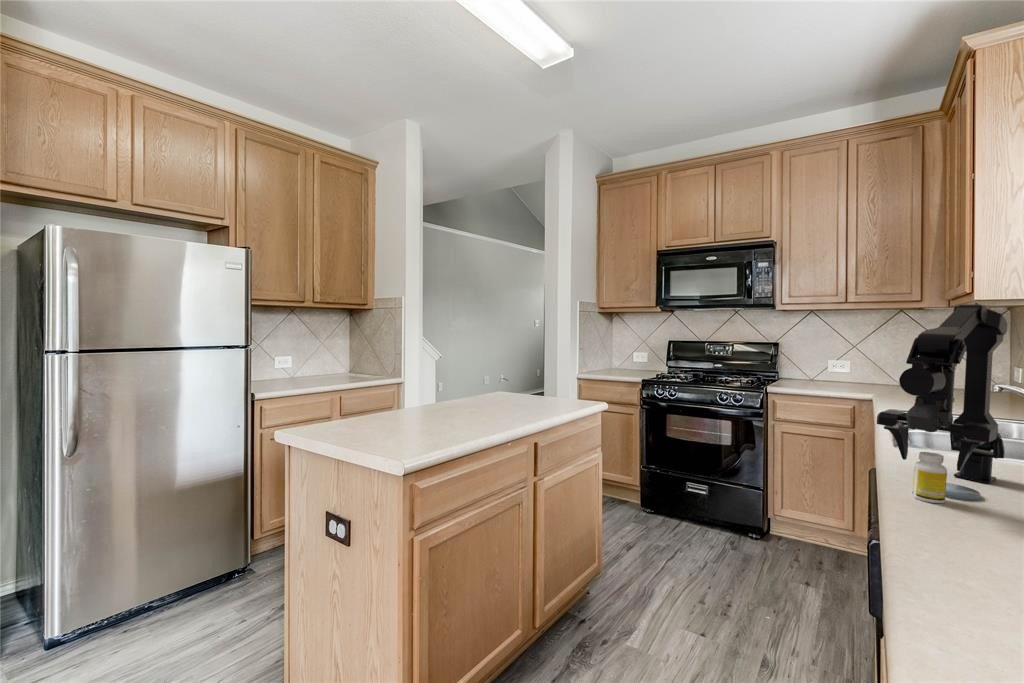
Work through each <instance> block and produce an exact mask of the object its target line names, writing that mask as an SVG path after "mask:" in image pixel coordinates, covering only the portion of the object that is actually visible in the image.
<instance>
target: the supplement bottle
mask: <svg viewBox="0 0 1024 683" xmlns="http://www.w3.org/2000/svg"><path fill="white" fill-rule="evenodd" d="M944 458H945V457H944V455H942V454H940V453H935V452H930V451H920V452H919V454H918V459H919V461H916V462H914V465H913V475H912V476H913V477H912V492H911V495H912V497H913V498H915V499H916V500H919V501H922V502H926V503H931V504H943V503H945V501H946V497H945V493H946V483H947V477H948V469H947V468H946V467H945V465H943V464H944Z"/></svg>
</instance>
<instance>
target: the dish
mask: <svg viewBox="0 0 1024 683" xmlns="http://www.w3.org/2000/svg"><path fill="white" fill-rule="evenodd" d="M945 498H949V499H953V500H958V501H971V502H973V501H974V502H975V501H980V499H981V492H979V491H978V490H975V489H973V488H970V487H969V486H968V487H967V486H964V485H960V484H955V483H950V482H946V493H945Z"/></svg>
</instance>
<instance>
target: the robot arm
mask: <svg viewBox="0 0 1024 683" xmlns="http://www.w3.org/2000/svg"><path fill="white" fill-rule="evenodd" d="M1007 332H1008V322H1007V320H1006V318H1005V317H1004V315H1003V314H1002V313H1001V312H1000V313H999V312H997V311H995V310H992V309H990V308H988V307H987V305H982V304H981V303H980V304H978V303H977V304H971V303H970V304H966V303H965V304H959V305H954V308H953V312H951V314H950V315H949V316H948V317H947V318H945V319H944V321H943V322H942V323H941V324H940V325H939V326H938V327H935V328H931V329H925V330H924V331H922V332H921V333H919V334H918V335H917V337H916V338H915V339H914V340H913V343H912V345H911V348H910V351H909V354H908V355H907V358H906V365H911V367H910V368H907V369H905V370H904V371H903V372H902V373H901V374H900V376H899V380H898V382H899V386H900V388H901V389H902V390H903V391H904V392H905V393H906V394H908V395H911V396H915V401H914V404H913V406H911V407H910V409H909V410H908V411H907V412H904V411H897V410H891V409H888V410H883V411H880V412H879V413H878V414H877V416H876V424H877V425H880V426H883V429H884V430H887V431H889V432H890V434H892V436H893V437H894V440H895V442H896V445H897V447H898V450H899V453H900V456H901V459H902V460H903V461H904V460H907V459H908V454H909V429H910V430H921V431H924V432H926V433H935V432H937V431H943V432H949V433H950V434H949V438H950V450H951V451H953V452H959V453H958V457H957V461H956V471H957V472H955V473H953V476H954V477H955V478H962V479H965V480H970V481H975V482H979V483H984V484H991V483H993V482H994V481H996V480H997V477H996V476H992V473H993V472H992V471H993V461H994V460H993V459H996V460H997V459H1005V445H1004V441H1003V439H1002V435H1001V433H1000V432H999V424H998V423H997V421H996V419H994V418H993V416H992V414H991V413H990V408H991V407H990V405H991V404H990V403H991V390H992V389H991V388H992V386H991V385H992V372H993V354H994V351H996V350H997V349H998V347H999V346H1000V345H1001V344H1002V343H1003V341H1004V336H1005V335H1006V334H1007ZM965 353H966V354H965ZM964 355H966V356H965V370H964V371H965V374H964V375H965V376H964V392H963V408H962V409H963V411H962V413H961V414H959V416H958V417H957V418H955V419H954V415H953V408H954V406H953V405H954V403H955V397H954V392H955V390H954V389H955V374H956V372H955V370H956V368H957V365H960V364H961V362H962V360H963V358H964Z"/></svg>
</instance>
